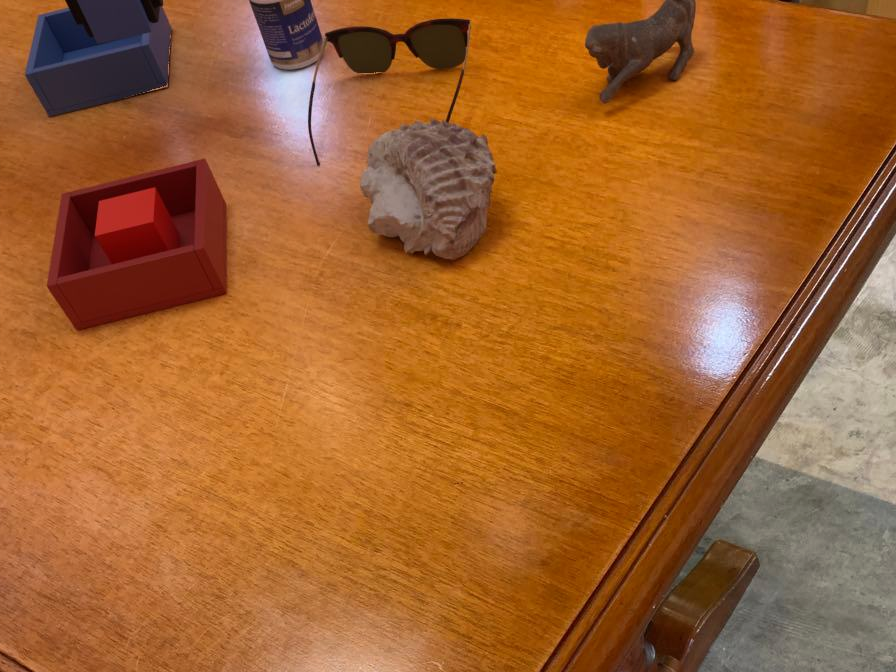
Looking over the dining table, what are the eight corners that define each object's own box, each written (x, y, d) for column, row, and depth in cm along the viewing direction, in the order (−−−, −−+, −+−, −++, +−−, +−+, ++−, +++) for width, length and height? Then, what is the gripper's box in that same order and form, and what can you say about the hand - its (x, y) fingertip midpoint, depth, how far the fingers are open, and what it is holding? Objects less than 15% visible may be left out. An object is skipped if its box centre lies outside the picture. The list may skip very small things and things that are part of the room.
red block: (122, 283, 85) (94, 235, 81) (126, 248, 88) (98, 200, 84) (178, 269, 85) (153, 221, 81) (180, 235, 88) (155, 186, 84)
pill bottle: (311, 73, 102) (276, -30, 94) (262, 71, 104) (223, -31, 96) (335, 42, 105) (303, -60, 97) (287, 40, 107) (252, -61, 99)
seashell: (326, 173, 86) (362, 62, 80) (421, 181, 92) (462, 78, 85) (398, 289, 80) (443, 179, 73) (495, 290, 86) (545, 189, 79)
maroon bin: (76, 330, 83) (46, 286, 80) (88, 237, 91) (61, 193, 87) (226, 293, 83) (203, 247, 80) (226, 203, 91) (205, 157, 87)
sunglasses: (481, 64, 99) (470, 15, 94) (460, 168, 91) (447, 120, 87) (339, 76, 101) (322, 28, 97) (307, 178, 94) (287, 131, 89)
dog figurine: (673, 39, 96) (669, -44, 90) (713, 61, 93) (712, -23, 87) (569, 93, 93) (558, 12, 87) (607, 118, 90) (598, 35, 84)
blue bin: (48, 117, 105) (24, 74, 101) (60, 56, 112) (38, 14, 109) (168, 87, 105) (148, 44, 101) (172, 28, 112) (153, -14, 109)
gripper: (129, -261, 79) (219, -18, 93) (-89, -213, 78) (35, 23, 93) (124, -229, 74) (219, 21, 89) (-108, -178, 74) (26, 65, 88)
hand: (124, 20), depth 91 cm, fingers closed on blue block, 4 cm apart
